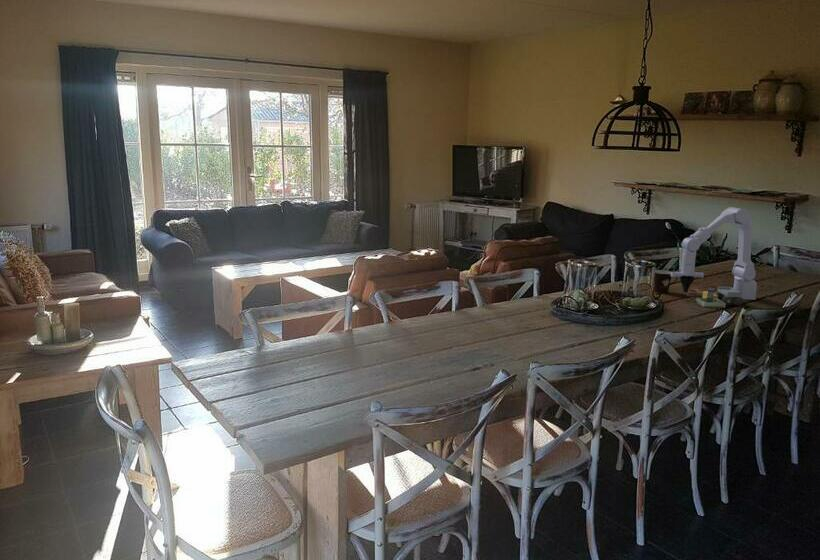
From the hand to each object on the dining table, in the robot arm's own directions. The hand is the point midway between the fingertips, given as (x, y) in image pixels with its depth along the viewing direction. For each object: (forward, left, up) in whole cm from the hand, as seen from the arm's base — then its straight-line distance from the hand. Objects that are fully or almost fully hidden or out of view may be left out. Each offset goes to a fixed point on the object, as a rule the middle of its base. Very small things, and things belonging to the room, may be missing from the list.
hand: (685, 291), depth 309 cm
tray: (-8, +9, -4) cm, 13 cm away
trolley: (-18, +4, -4) cm, 19 cm away
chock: (-11, +1, -4) cm, 12 cm away
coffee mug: (+5, -14, -4) cm, 15 cm away
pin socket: (-7, -10, -4) cm, 13 cm away
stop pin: (-8, +9, -3) cm, 13 cm away
